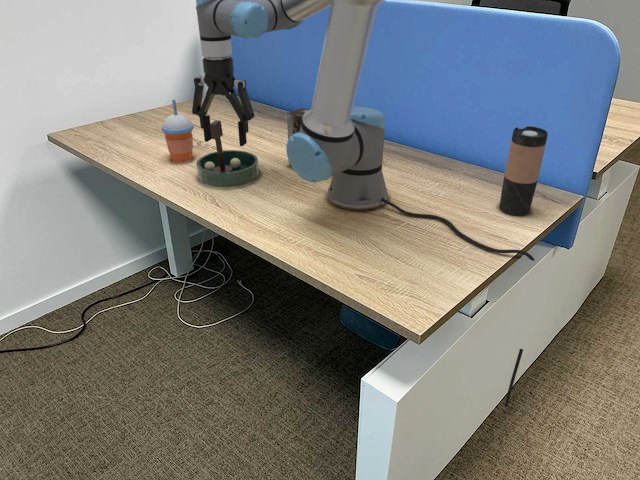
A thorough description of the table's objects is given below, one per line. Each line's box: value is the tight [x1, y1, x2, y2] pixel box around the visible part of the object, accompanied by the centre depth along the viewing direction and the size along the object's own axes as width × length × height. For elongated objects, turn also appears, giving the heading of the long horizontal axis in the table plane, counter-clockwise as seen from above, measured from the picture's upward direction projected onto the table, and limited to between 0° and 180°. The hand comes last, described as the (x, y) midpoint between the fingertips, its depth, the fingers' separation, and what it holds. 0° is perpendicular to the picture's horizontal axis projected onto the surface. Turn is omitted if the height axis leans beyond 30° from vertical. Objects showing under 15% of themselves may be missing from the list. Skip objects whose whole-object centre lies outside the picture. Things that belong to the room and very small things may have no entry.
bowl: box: [196, 149, 260, 188], centre depth 145 cm, size 17×17×4 cm
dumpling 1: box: [204, 161, 215, 171], centre depth 147 cm, size 3×3×3 cm
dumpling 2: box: [230, 158, 241, 169], centre depth 149 cm, size 3×3×3 cm
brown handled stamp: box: [210, 119, 233, 172], centre depth 140 cm, size 5×5×16 cm
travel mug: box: [499, 125, 549, 217], centre depth 124 cm, size 8×8×20 cm
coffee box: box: [286, 107, 310, 166], centre depth 148 cm, size 9×6×16 cm
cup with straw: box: [161, 99, 194, 163], centre depth 152 cm, size 9×9×18 cm
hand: (225, 142), depth 142 cm, fingers open, 10 cm apart
